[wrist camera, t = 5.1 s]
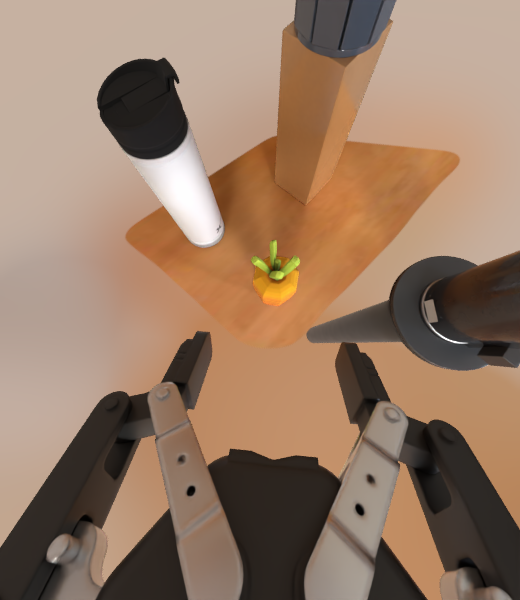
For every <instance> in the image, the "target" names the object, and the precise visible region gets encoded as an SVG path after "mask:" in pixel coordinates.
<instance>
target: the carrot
mask: <svg viewBox="0 0 520 600" xmlns="http://www.w3.org/2000/svg"><path fill="white" fill-rule="evenodd" d="M276 252H277V243H276V240H272V241H271V242H270V256H269V257H267V258H266V259H264V260H263V261H262V260H261V259H260V258H259V257H257V256H253V257H252V259H251V262H252V263H253V264H254V265H256V269H255V274H254V279H253V286H254V289H255V291H256V292H257V294H258V295H259V297H260V298H261V300H262V301H263V303H265V304H269V305H274V306H279V305H281V304H282V303H283V302H285V301H286V300H288V299H289V298H291V297H292V296H293V294H294V293H295V291H296V288H297V281H298V275H299V272H298V270H297V269H296V267H297V266H298V264H299V263H300V260H299V258H298V257H297V256H294V257H293V258H291V259H290V260H289V258H286V257H280V256H276Z"/></svg>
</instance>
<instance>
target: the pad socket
mask: <svg viewBox="0 0 520 600" xmlns="http://www.w3.org/2000/svg"><path fill="white" fill-rule="evenodd" d="M395 2H396V0H296V7H295V18H294V21H293V22H292V23H290V25H288V26H287V27H286V28H285V29H284V30H283V36H282V55H281V72H280V91H279V109H278V110H279V111H278V128H277V147H276V165H275V183H276V184H277V185H279V186H280V187H281V188H283V189H284V190H285V191H287V192H288V193H289V194H291V195H292V196H293V197H295V198H296V199H297V200H299V201H300V202H301V203H303V204H304V205H307V204H308V203H309V202H310V201H311V200H312V199H313V197H314V196H315V195H316V194H317V193H318V192H319V191H320V190H321V189H322V188H323V187H324V186H325V185H326V184H327V183H328V181H329V180H330V179H331V178H332V175H333V173H334V170H335V168H336V165H337V163H338V160H339V158H340V155H341V153H342V150H343V148H344V145H345V142H346V140H347V137H348V134H349V132H350V130H351V127H352V125H353V122H354V120H355V117H356V115H357V112H358V109H359V107H360V104H361V102H362V99H363V97H364V94H365V92H366V89H367V87H368V84H369V82H370V79H371V77H372V74H373V71H374V69H375V66H376V64H377V61H378V59H379V56H380V54H381V51H382V49H383V46H384V44H385V41H386V39H387V36H388V33H389V31H390V29H391V26H392V23H393V21H392V20H390V19H389V18H390V16H391V13H392V10H393V8H394V5H395Z"/></svg>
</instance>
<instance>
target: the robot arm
mask: <svg viewBox="0 0 520 600" xmlns="http://www.w3.org/2000/svg"><path fill="white" fill-rule="evenodd" d="M419 311H420V315H421V318H422V320H423V322H424V324H425V326H426V327H427V328H428V329H429V330H430V331H431V332H432V333H433V334H434V335H435V336H437V337H438V338H440V339H442V340H444V341H446V342H450V343H455V344H464V345H466V346H467V347H468V348H481V350H480V351H479V353H478V354H477V356H478V357H480V358H481V359H482V360H484V361H485V362H486V363H488V364H489V365H494V366H504V367H514V368H517V367H518V366H519V365H520V251H517V252H515V253H512V254H509V255H506V256H503V257H501V258H498V259H495V260H492V261H490V262H487V263H485V264H482V265H479V266H476V267H473V268H471V269H468V270H465V271H463V272H460V273H457V274H454V275H452V276H449V277H445V278H442V279H439V280H436V281H434V282H432V283H430V284H429V285H428V286H427V287H426V288H425V289H424V290H423V292H422V294H421V296H420V300H419ZM211 357H212V344H211V336H210V332H201V331H197V332H196V334H195V336H194V338H193V339H187V340H186V341H185V342H184V343H183V344H182V345H181V346H180V348H179V350H178V352H177V353H176V356H175V357H174V359H173V361H172V363H171V365H170V367H169V369H168V370H167V372H166V374H165V376H164V378H163V380H162V382H161V383H160V384H158V385H156V386H155V387H154V388H153V389H152V390H151V391H150V392H147V393H144V394H139V395H134V396H130V397H129V396H128V394H127V393H125V392H122V391H117V392H113V393H111V394H109V395H107V396H105V397H104V398H103V399H101V400H100V402H99V403H98V404H97V406H96V407H95V408H94V410H93V411H92V413H91V414H90V416H89V417H88V419H87V420H86V422H85V423H84V425H83V426H82V428H81V429H80V431H79V432H78V433H77V435H76V437H75V438H74V439H73V441H72V442H71V444H70V445H69V447H68V448H67V450H66V451H65V453H64V454H63V456H62V457H61V459H60V460H59V462H58V463H57V465H56V466H55V468H54V469H53V470H52V472H51V473H50V475H49V476H48V478H47V479H46V481H45V482H44V484H43V485H42V487H41V488H40V490H39V491H38V493H37V494H36V496H35V497H34V499H33V500H32V502H31V503H30V505H29V506H28V507H27V509H26V510H25V512H24V513H23V515H22V516H21V518H20V519H19V521H18V522H17V524H16V525H15V527H14V528H13V530H12V531H11V533H10V534H9V536H8V537H7V539H6V540H5V542H4V543H3V545H2V546H1V547H0V600H427V598H426V597H425V596H424V594H423V593H422V591H421V590H420V589H419V588H418V586H417V585H416V583H415V582H414V580H413V579H412V578H411V576H410V575H409V574H408V572H407V571H406V570H405V568H404V567H403V565H402V564H401V563H400V561H399V560H398V559H397V557H396V556H395V554H394V553H393V552H392V550H391V549H390V548H389V546H388V545H387V544H386V542H385V541H384V539H383V538H382V537H381V535H382V532H383V528H384V524H385V521H386V517H387V514H388V510H389V506H390V503H391V499H392V496H393V492H394V488H395V485H396V481H397V477H398V474H399V469H400V464H399V463H398V461H400V462H403V463H405V464H406V466H407V468H408V471H409V474H410V476H411V479H412V482H413V484H414V488H415V490H416V493H417V496H418V498H419V501H420V504H421V507H422V509H423V512H424V515H425V517H426V520H427V523H428V526H429V529H430V531H431V534H432V537H433V540H434V542H435V545H436V548H437V551H438V553H439V556H440V559H441V562H442V564H443V567H444V570H445V573H444V574H443V575H442V576H441V579H440V592H441V597H442V600H520V530H519V528H518V526H517V524H516V523H515V521H514V520H513V518H512V516H511V515H510V513H509V511H508V510H507V508H506V506H505V505H504V503H503V501H502V500H501V498H500V497H499V495H498V493H497V491H496V490H495V488H494V486H493V485H492V483H491V482H490V480H489V478H488V477H487V475H486V473H485V472H484V470H483V468H482V467H481V465H480V464H479V462H478V460H477V459H476V457H475V455H474V454H473V452H472V450H471V449H470V447H469V445H468V444H467V442H466V441H465V439H464V437H463V436H462V435H461V434H460V432H459V431H458V430H457V429H456V428H454V427H453V426H451V425H450V424H448V423H446V422H444V421H441V420H432V421H430V422H429V424H426V423H423V422H421V421H418V420H415V419H413V418H410V417H408V416H406V414H405V413H404V412H403V411H402V410H401V409H400V408H399V407H398V406H396V405H395V404H393V403H391V401H390V399H389V397H388V395H387V392H386V390H385V388H384V386H383V384H382V381H381V379H380V377H379V376H378V373H377V371H376V369H375V366H374V364H373V362H372V360H371V359H370V358H369V357H368V356H367V355H366V353H360V351H359V348H358V346H357V344H356V343H346V342H342V343H341V346H340V349H339V352H338V354H337V358H336V361H335V367H336V372H337V376H338V379H339V383H340V387H341V390H342V394H343V398H344V402H345V405H346V409H347V413H348V416H349V420H350V423H351V424H358V426H359V430H360V433H359V435H358V437H357V440H356V442H355V444H354V446H353V448H352V450H351V452H350V454H349V457H348V459H347V461H346V463H345V465H344V467H343V469H342V471H341V473H340V475H339V477H338V478H337V477H336V476H335V475H334V474H333V473H332V472H330V471H329V470H327V469H326V468H324V467H322V466H320V465H318V458H316V457H306V456H291V457H286V458H281V459H276V460H272V459H269V458H267V457H265V456H262V455H260V454H257V453H255V452H252V451H247V450H237V449H230V452H229V455H228V456H224V457H221V458H219V459H217V460H215V461H213V462H212V463H211V464H209V465H208V466H207V465H206V462H205V459H204V457H203V454H202V451H201V448H200V446H199V443H198V440H197V437H196V435H195V432H194V429H193V427H192V424H191V421H190V420H189V418H188V415H187V410H188V409H194V408H195V405H196V402H197V399H198V396H199V393H200V390H201V387H202V384H203V381H204V378H205V376H206V373H207V370H208V367H209V363H210V361H211ZM152 435H156V439H155V443H156V448H157V452H158V457H159V461H160V466H161V471H162V475H163V480H164V485H165V489H166V493H167V498H168V502H169V507H170V508H169V509H168V510H167V511H166V512H165V513H164V514H163V516H162V517H161V518H160V519H159V520H158V521H157V522H156V523H155V525H154V526H153V527H152V528H151V529H150V530H149V531H148V532H147V533H146V535H145V536H144V537H143V538H142V539H141V540H140V541H139V542H138V544H137V545H136V546H135V547H134V548H133V549H132V550H131V552H130V553H129V554H128V555H127V556H126V557H125V558H124V559H123V560H122V562H121V563H120V564H119V565H118V566H117V567H116V569H115V570H114V571H113V572H112V574H111V575H110V576H109V577H108V579H107V580H106V582H105V583H104V580H103V575H102V567H103V562H104V558H105V555H106V551H107V546H108V540H107V535H106V533H105V532H104V531H103V530H102V527H103V525H104V523H105V520H106V518H107V516H108V514H109V511H110V509H111V506H112V504H113V502H114V500H115V498H116V495H117V493H118V491H119V488H120V486H121V484H122V482H123V479H124V477H125V475H126V472H127V470H128V468H129V465H130V463H131V461H132V459H133V456H134V454H135V451H136V449H137V447H138V445H139V442H140V440H141V438H144V437H148V436H152Z"/></svg>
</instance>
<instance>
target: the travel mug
mask: <svg viewBox="0 0 520 600" xmlns="http://www.w3.org/2000/svg"><path fill="white" fill-rule="evenodd" d="M174 79H175V81H176V82H177V84H178V83H179V79H178V76H177V74H176V72H175V70H174V69H173V67H172V66H171V65H170V63H169V62H168V61H167V60H166V59H165V58H162V59H160V60H158V61H155V60H151V59H138V60H133V61H130V62H127V63H125V64H123V65H122V66H120V67H118V68H117V69H115V70H114V71H113V72H112V73H111V74H110V75H109V76H108V77H107V78H106V80H105V81H104V82H103V84H102V86H101V88H100V90H99V93H98V97H97V102H98V103H97V104H98V109H99V110H100V117H101V119H102V121H103V123H104V124H105V125H106V127H107V128H108V129H109V131H110V132H111V134H112V135H113V136H114V138H115V139H116V140H117V142H118V143H119V145H120V147H121V148H122V150H123V151H124V152H125V154H126V155H127V157H128V158H129V159H130V161H131V162H132V163H133V165H134V166H135V167H136V169H137V170H138V171H139V173H140V174H141V175H142V177H143V178H144V180H145V181H146V182H147V184H148V185H149V186H150V188H151V189H152V190H153V192H154V193H155V194H156V196H157V197H158V198H159V200H160V201H161V203H162V204H163V205H164V207H165V208H166V209H167V211H168V212H169V214H170V215H171V216H172V218H173V219H174V220H175V222H176V223H177V224H178V226H179V227H180V228H181V230H182V231H183V233H184V234H185V235H186V237H187V238H188V239H189V241H190V242H191V243H192V244H194V245H195V246H198V247H203V248H204V247H211V246H213V245H215V244H217V243H218V242H219V241H220V240H221V238H222V237H223V235H224V231H225V226H224V223H223V220H222V217H221V214H220V211H219V208H218V205H217V202H216V200H215V197H214V194H213V191H212V188H211V185H210V182H209V179H208V176H207V174H206V171H205V168H204V165H203V162H202V159H201V156H200V154H199V151H198V148H197V145H196V142H195V139H194V136H193V133H192V131H191V128H190V126H189V122H188V119H187V117H186V115H185V112H184V110H183V107H182V104H181V101H180V99H179V97H178V94H177V91H176V88H175V85H174Z"/></svg>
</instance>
